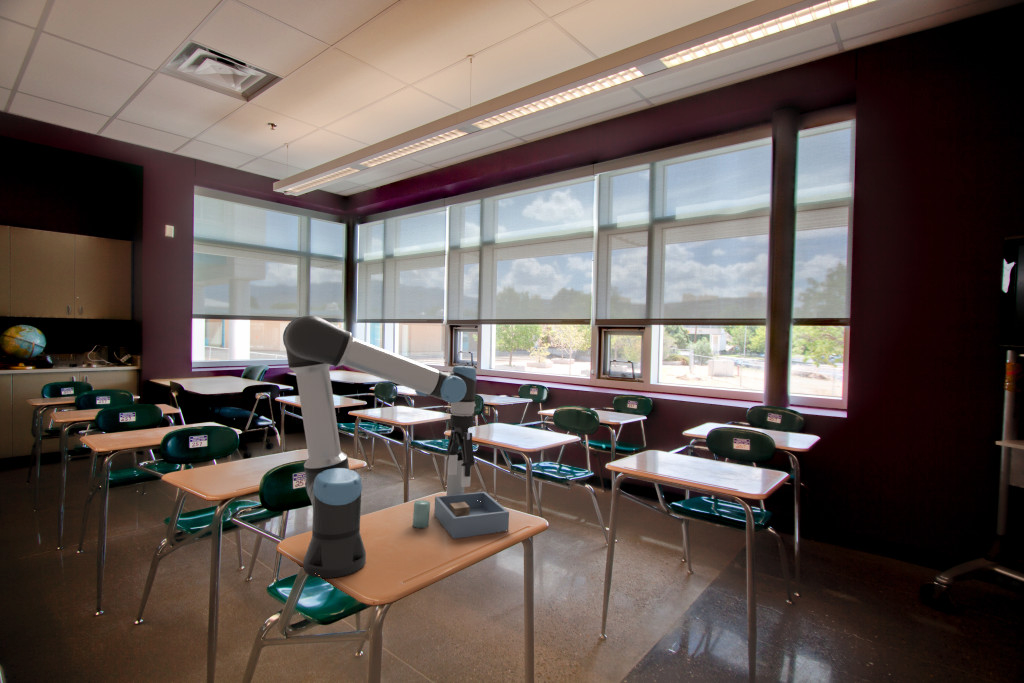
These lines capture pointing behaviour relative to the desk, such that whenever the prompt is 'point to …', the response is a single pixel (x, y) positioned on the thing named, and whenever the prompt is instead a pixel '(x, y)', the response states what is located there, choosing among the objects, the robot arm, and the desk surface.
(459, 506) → the walnut cube
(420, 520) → the teal cylinder
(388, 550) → the desk surface
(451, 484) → the travel mug
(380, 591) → the desk surface
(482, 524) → the tote
